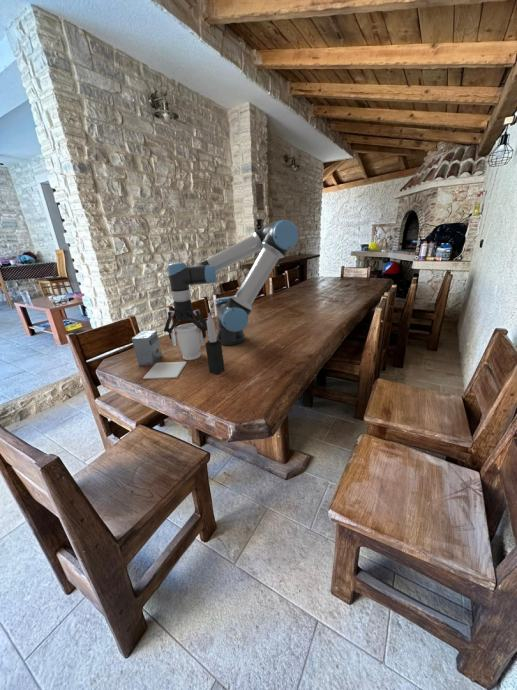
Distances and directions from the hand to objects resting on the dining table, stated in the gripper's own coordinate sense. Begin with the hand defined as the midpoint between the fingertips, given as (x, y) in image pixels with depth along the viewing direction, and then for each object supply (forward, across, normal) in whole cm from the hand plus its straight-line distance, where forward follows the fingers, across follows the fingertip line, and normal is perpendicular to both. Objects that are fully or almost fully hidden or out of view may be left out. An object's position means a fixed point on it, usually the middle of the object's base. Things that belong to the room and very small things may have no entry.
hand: (189, 345), depth 128 cm
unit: (+6, +19, +2) cm, 20 cm away
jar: (+6, 0, 0) cm, 6 cm away
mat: (+6, +7, +13) cm, 16 cm away
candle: (+6, -15, +15) cm, 23 cm away
